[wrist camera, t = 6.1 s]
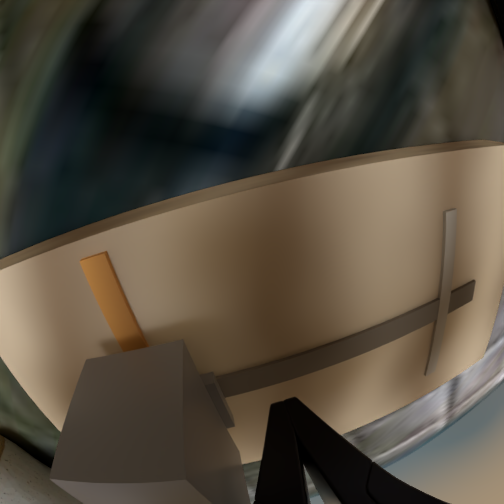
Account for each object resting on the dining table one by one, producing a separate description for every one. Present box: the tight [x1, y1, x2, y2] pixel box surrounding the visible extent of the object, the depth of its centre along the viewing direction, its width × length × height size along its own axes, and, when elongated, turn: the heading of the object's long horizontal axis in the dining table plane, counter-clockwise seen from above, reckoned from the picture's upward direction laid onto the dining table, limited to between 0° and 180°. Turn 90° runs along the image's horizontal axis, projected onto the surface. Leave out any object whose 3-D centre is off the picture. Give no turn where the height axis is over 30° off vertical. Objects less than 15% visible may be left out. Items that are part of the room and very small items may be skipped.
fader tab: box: [49, 339, 251, 504], centre depth 7 cm, size 4×6×4 cm, turn 13°
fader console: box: [0, 139, 504, 464], centre depth 10 cm, size 22×12×2 cm, turn 103°
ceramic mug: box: [0, 435, 84, 504], centre depth 10 cm, size 11×8×8 cm
